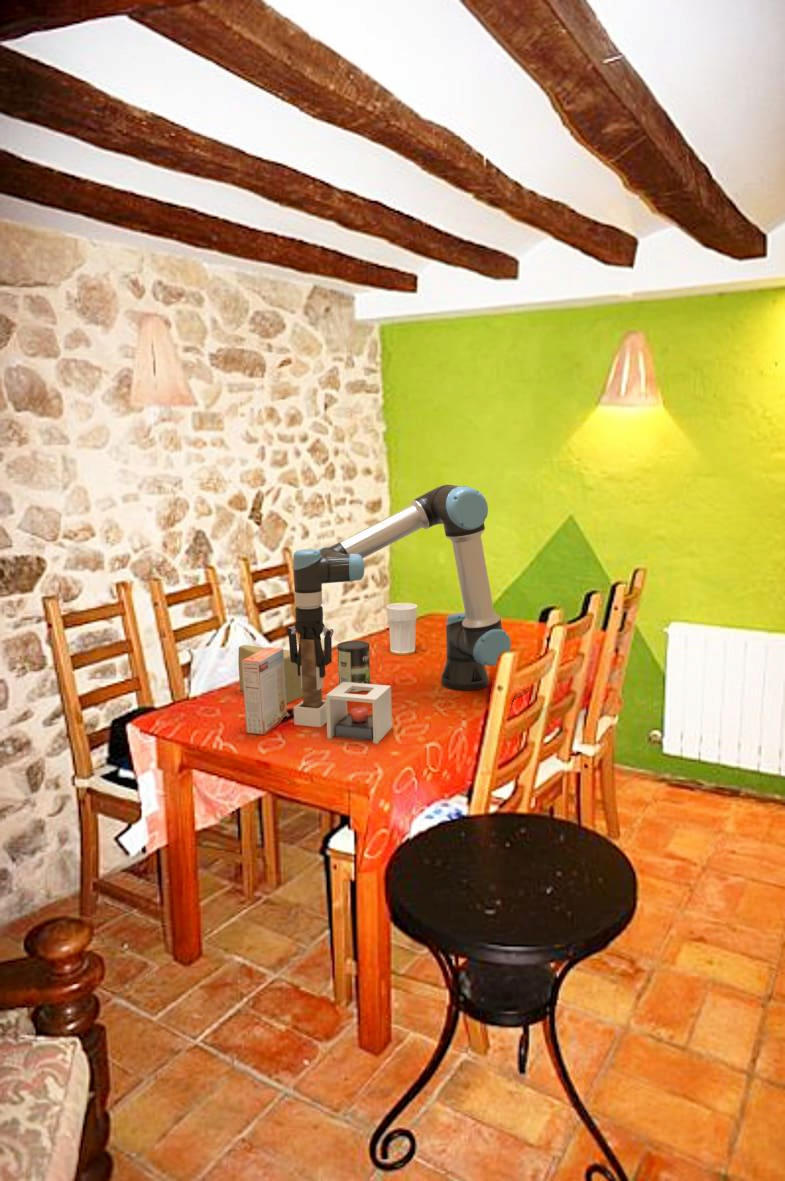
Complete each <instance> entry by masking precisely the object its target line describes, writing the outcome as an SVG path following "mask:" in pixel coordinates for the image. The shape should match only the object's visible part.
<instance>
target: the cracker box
mask: <svg viewBox="0 0 785 1181" xmlns="http://www.w3.org/2000/svg"><path fill="white" fill-rule="evenodd" d="M263 648H264V649H262V650H260V651H258V652H257V653H255V654H253V655H251V656H249V657H247V658H245V659H244V660H242V661H241V662H242V676H243V689H244V692H243V698H244V699H243V700H244V701H243V702H244V714H245V716H244V717H245V729H246V734H251V735H252V734H253V735H261V736H265V735H267V733H269V732H271V731H272V730H273V729H274V728H276V727H277V726H278V725H280V724H281V723H282V722H283V721H282V720H283V718H284V717H285V716H286V715H287V716H288V707H287V705H288V703H287V704H286V688H285V671H284V655H283V650H284V648H281V647H270V646H267V647H263ZM281 721H282V722H281Z"/></svg>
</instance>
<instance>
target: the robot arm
mask: <svg viewBox="0 0 785 1181" xmlns="http://www.w3.org/2000/svg"><path fill="white" fill-rule="evenodd" d="M488 513H489V506H488V502H487V500H486V498H485V496H484V495H483V494H482V493H481V492H480V491H479V490H477V489H475V488H473V487H470V486H468V485H467V486H465V485H454V484H444V485H440V486H437V487H435V488H433V489H432V490H429V491H427V492H426V493H424V494H422V495H420V496H418V497H417V498H415V499H413V500H411V502H410V505H409V506H407V507H405V508H403V509H401V510H399V511H396V512H395V513H393V514H390V515H389V516H387V517H385V518H383V519H381V520H379V521H377V522H376V523H374V524H372V525H370V526H368V527H366V528H364V529H363V530H360V531H358V532H357V533H354V534H353V535H350V536H349V537H347V538H345V539H343V540H341V541H340V542H337V543H335V544H333V545H331V546H328V547H327V546H324V547H320V548H318V549H316V548H315V549H313V548H309V549H308V548H307V549H299V550H296V551H295V552H294V553H293V556H292V557H293V560H292V562H293V563H292V564H293V565H292V569H293V580H294V581H293V582H294V583H293V584H294V606H296V607H295V608H294V610H295V612H294V613H295V624H294V625H293V626H290V627H288V628H286V629H285V631H286V633H287V636H288V644H289V645H288V646H289V651H290V659H291V662H292V663H296V664H297V667H298V676H301V688H302V667H301V643H300V639H304V638H306V639H311V640H314V643H315V652H316V657H317V662H318V666H317V667H316V684H317V690H320V689H321V688H322V689H323V688H324V680H323V679H324V677H326V666H328V665H330V664H332V661H333V660H332V659H333V658H332V657H333V656H332V653H333V652H332V651H333V650H332V644H333V643H332V638H333V635H334V632H335V631H334V629H333V628H327V627H326V626H325V624H324V621H323V620H324V610H323V606H322V605H323V587H322V586H323V584H333V583H335V584H336V583H345V582H346V583H347V582H349V583H351V582H355V581H360V580H362V579H363V577H364V574H365V561H364V559H365V558H368V557H369V556H370V555H373V554H375V553H376V552H378V551H380V550H382V549H384V548H386V547H388V546H390V545H392V544H394V543H396V542H398V541H399V540H401V539H403V538H405V537H407V536H409V535H411V534H413V533H414V532H417V531H418V530H420V529H424V530H427V529H429V528H432V527H434V526H437V525H443V529H444V533H445V534H444V535H445V537H446V538H447V539H449V540H450V541H451V544H452V549H453V554H454V559H455V566H456V571H457V576H458V580H459V581H458V582H459V587H460V593H461V599H462V602H463V603H462V604H463V608H464V612H457V613H455V612H454V613H452V614H451V613H450V614H449V615H447V617H446V622H445V627H446V628H445V629H446V630H445V631H446V635H445V637H446V638H445V639H446V661H445V664H444V668H443V671H442V673H441V678H440V679H441V685H442V686H443V687H445V688H447V689H452V690H457V691H473V690H480V689H485V688H486V687H487V686H488V685H490V684H489V683H490V682H489V679H490V677H489V674H488V671H487V667H486V666H488V667H492V666H493V667H494V666H497V665H496V662H497V659H498V657H499V655H500V654H501V653H502V652H504V651H509V652H510V651H511V648H512V642H511V637H510V636H509V634H508V633H507V631H505V630H504V629H503V625H502V618H501V616H500V615H499V614H498V613H496V612H495V609H494V604H493V598H492V592H491V587H490V580H489V575H488V570H487V562H486V558H485V551H484V547H483V542H482V535H483V533H484V531H485V529H486V528H485V527H486V526H485V521H486V518H488ZM297 633H298V635H299V644H298V640H297V639H298V638H297ZM322 633H323V637H324V638H323V646H322V637H321V634H322ZM318 637H319V638H318ZM317 638H318V639H317ZM316 639H317V640H316Z"/></svg>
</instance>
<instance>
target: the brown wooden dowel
mask: <svg viewBox="0 0 785 1181" xmlns="http://www.w3.org/2000/svg"><path fill="white" fill-rule="evenodd" d="M318 638H319V637H318ZM318 638H317V639H318ZM299 639H300V638H299ZM317 639H316V640H317ZM300 643H301V667H302V691H303V696H302V701H303V707H307V708H320V707H321V706H322V700H323V697H322V696H323V695H322V689H323V688H321V689H320V690H317V684H316V667H317V666H318V662H317V657H316V652H315V643H314V640H311V639H306V638H304V639H300V642H299V644H300Z"/></svg>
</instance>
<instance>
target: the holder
mask: <svg viewBox="0 0 785 1181" xmlns="http://www.w3.org/2000/svg"><path fill="white" fill-rule="evenodd" d="M293 720H294V721H293V723H294V725H296V726H303V727H315V728H322V727H323V726H324V725H325V724H327V712H326V699H322V706H321V707H320V708H307V707H303V700H301V701H300V702H299V703H297V704H296V705H295V706H294V707H293Z"/></svg>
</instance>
